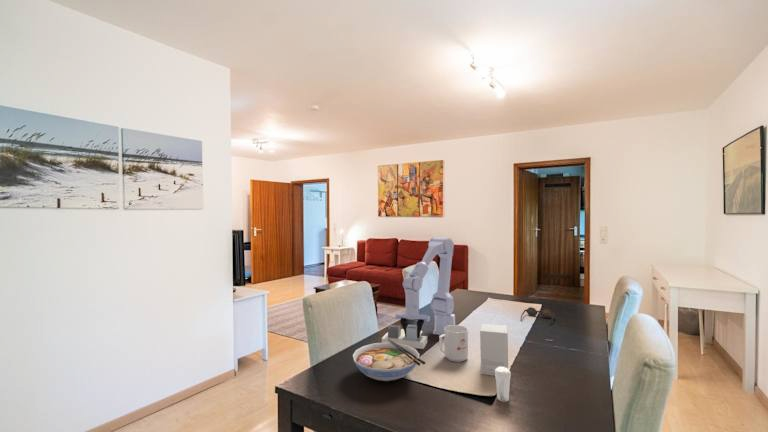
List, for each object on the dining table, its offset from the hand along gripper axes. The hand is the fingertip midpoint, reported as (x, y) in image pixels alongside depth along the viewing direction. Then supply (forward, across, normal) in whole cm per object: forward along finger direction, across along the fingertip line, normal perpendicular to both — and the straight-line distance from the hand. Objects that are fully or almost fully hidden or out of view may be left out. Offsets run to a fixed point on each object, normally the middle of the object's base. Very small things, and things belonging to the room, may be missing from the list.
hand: (412, 336), depth 146 cm
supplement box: (+3, +33, -16) cm, 37 cm away
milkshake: (+3, +35, -35) cm, 50 cm away
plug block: (+2, 0, 0) cm, 2 cm away
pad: (+3, -4, +11) cm, 12 cm away
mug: (+3, +18, -10) cm, 21 cm away
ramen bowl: (+3, -2, -31) cm, 31 cm away
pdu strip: (+3, -4, 0) cm, 5 cm away
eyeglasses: (+4, +54, +51) cm, 74 cm away
